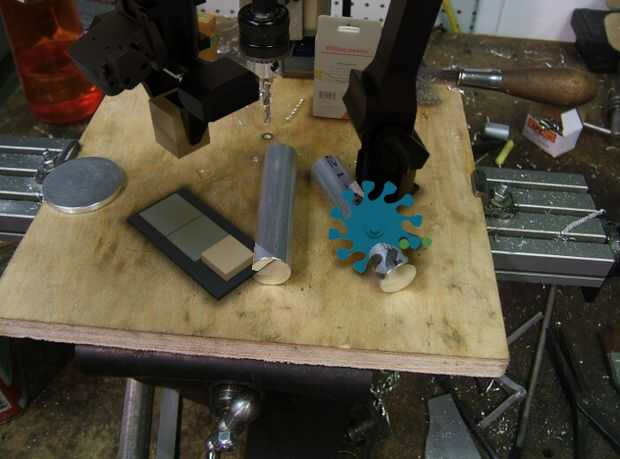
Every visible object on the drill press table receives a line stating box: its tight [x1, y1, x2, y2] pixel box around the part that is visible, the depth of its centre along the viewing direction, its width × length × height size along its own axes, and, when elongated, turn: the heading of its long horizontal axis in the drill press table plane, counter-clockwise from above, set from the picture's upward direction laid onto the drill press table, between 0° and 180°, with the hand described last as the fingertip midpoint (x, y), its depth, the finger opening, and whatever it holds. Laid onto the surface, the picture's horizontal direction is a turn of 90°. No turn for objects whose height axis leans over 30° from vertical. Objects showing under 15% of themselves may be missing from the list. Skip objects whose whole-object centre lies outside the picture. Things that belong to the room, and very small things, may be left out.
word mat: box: [126, 186, 259, 301], centre depth 61 cm, size 16×8×2 cm, turn 46°
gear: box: [327, 181, 433, 274], centre depth 61 cm, size 11×6×10 cm
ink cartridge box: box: [312, 14, 382, 120], centre depth 76 cm, size 9×5×15 cm, turn 83°
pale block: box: [147, 88, 211, 160], centre depth 56 cm, size 4×4×5 cm
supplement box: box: [197, 10, 218, 60], centre depth 82 cm, size 3×3×10 cm
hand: (182, 134), depth 57 cm, fingers closed on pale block, 4 cm apart
